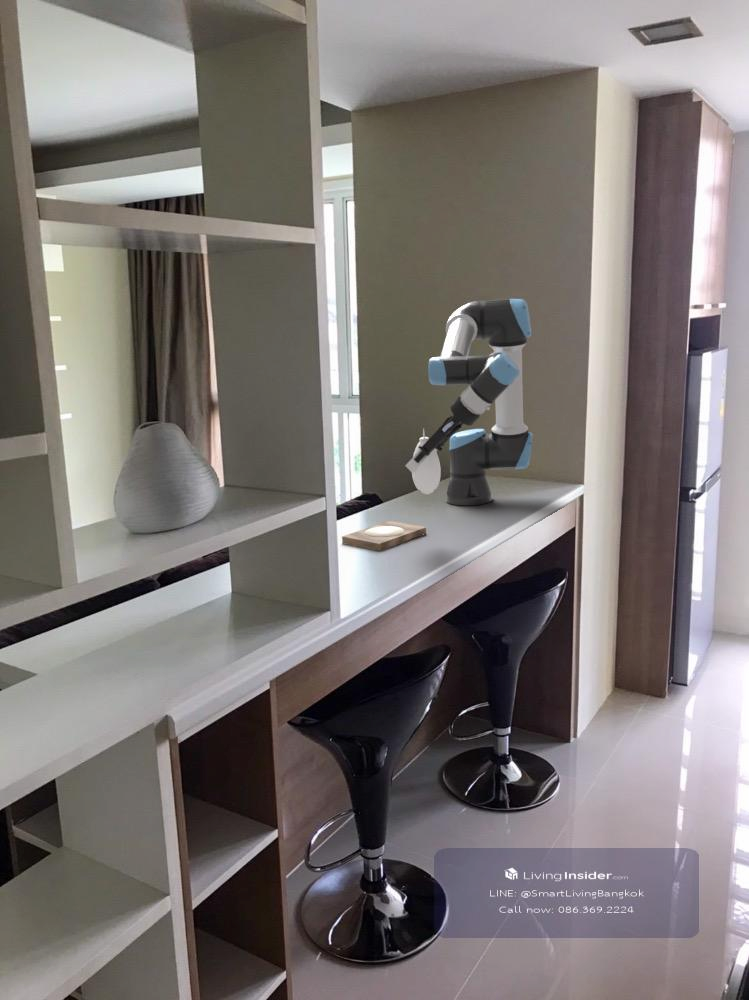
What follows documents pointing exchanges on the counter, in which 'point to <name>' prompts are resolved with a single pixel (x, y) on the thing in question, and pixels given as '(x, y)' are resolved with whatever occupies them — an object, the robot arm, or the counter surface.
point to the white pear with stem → (427, 470)
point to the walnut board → (383, 535)
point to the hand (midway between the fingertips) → (414, 466)
